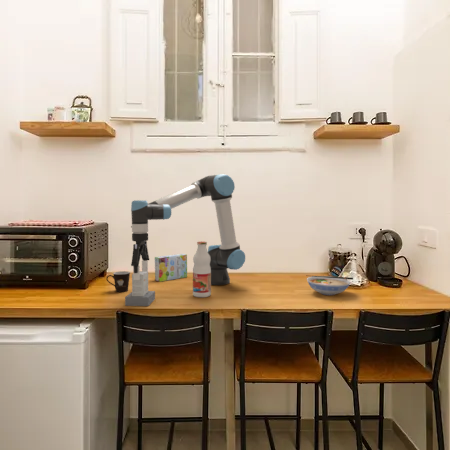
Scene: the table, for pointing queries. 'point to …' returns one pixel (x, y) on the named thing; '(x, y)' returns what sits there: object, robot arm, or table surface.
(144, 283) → the small box
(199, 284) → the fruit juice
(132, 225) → the robot arm
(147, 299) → the stand
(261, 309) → the table surface
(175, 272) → the snack box
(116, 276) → the coffee mug
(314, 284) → the ramen bowl
